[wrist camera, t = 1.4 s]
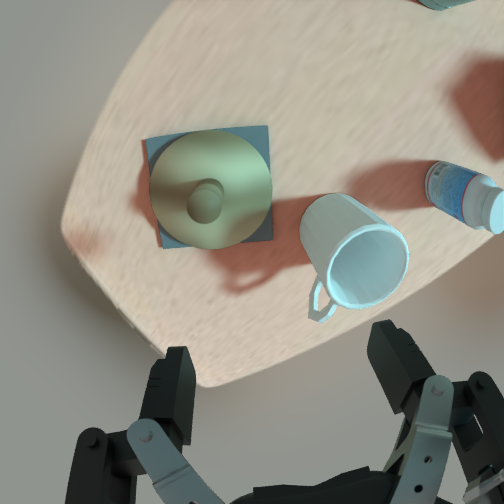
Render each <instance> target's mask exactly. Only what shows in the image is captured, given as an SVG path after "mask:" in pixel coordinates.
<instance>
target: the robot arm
mask: <svg viewBox="0 0 504 504" xmlns="http://www.w3.org/2000/svg"><path fill="white" fill-rule="evenodd" d="M418 1H419V2H421V3H422V4H424V5H425V6H427V7H429V8H431V9H434V10H440V11H441V10H445V9H448V8H451V7H454V6H457V5H461V4H464V3H468V2H471V1H475V0H418ZM367 355H368V359H369V361H370V363H371V365H372V367H373V369H374V371H375V373H376V375H377V378H378V380H379V382H380V384H381V386H382V388H383V390H384V392H385V395H386V397H387V399H388V401H389V403H390V406H391V408H392V410H393V412H394V414H398V413H401V412H403V413H404V415H405V417H404V419H403V422H402V425H401V429H400V432H399V434H398V437H397V440H396V443H395V446H394V449H393V452H392V454H391V456H390V458H389V459H388V461H387V463H386V465H385V467H384V469H383V471H370V469H369V466H366V467H363V468H359V469H356V470H352V471H349V472H345V473H341V474H340V475H338V476H335V477H333V478H331V479H329V480H327V481H325V482H322V483H320V484H318V485H315V486H297V485H274V486H265V487H254V488H253V493H249V494H247V495H244V496H241V497H240V498H238V499H236V500H234V501H233V502H231V503H230V504H452V503H450V502H447V501H446V500H443V499H441V498H439V497H437V494H438V491H439V487H440V484H441V481H442V477H443V474H444V470H445V466H446V463H447V458H448V454H449V450H450V446H451V441H452V442H453V445H454V447H455V449H456V452H457V455H458V457H459V460H460V462H461V465H462V468H463V471H464V474H465V476H466V480H467V482H468V486H467V488H466V491H465V494H464V496H463V501H464V502H465V504H504V398H503V396H502V394H501V393H500V391H499V389H498V387H497V386H496V384H495V383H494V381H493V379H492V378H491V377H490V376H489V375H488V374H487V373H485V372H481V371H478V372H475V373H473V374H472V375H471V376H470V378H469V379H468V381H459V382H451V381H450V380H449V379H448V378H446V377H445V376H442V375H436V373H435V372H434V370H433V369H432V367H431V366H430V364H429V363H428V361H427V359H426V358H425V356H424V355H423V353H422V352H421V351H420V350H419V347H418V346H417V345H416V344H415V341H414V340H413V339H412V337H411V336H410V334H409V333H407V332H406V331H404V330H403V329H402V328H399V329H397V328H396V327H395V325H394V324H393V322H392V321H391V320H390V319H388V320H384V321H379V322H375V323H373V325H372V329H371V333H370V337H369V342H368V346H367ZM195 387H196V373H195V369H194V366H193V363H192V360H191V357H190V354H189V351H188V349H187V347H186V346H177V347H168V349H167V353H166V358H165V359H158V360H157V361H156V362H155V364H154V365H153V366H152V368H151V371H150V375H149V380H148V383H147V388H146V391H145V395H144V399H143V403H142V407H141V412H140V416H139V419H138V420H137V421H135V422H134V423H132V424H131V425H130V427H129V428H128V429H127V430H124V431H120V432H114V433H108V434H106V433H104V431H102V430H101V429H99V428H94V427H93V428H88V429H86V430H84V431H83V432H82V433H81V434H80V435H79V437H78V440H77V444H76V449H75V453H74V457H73V462H72V466H71V471H70V477H69V482H68V487H67V493H66V500H65V504H135V500H136V485H137V475H143V474H148V475H149V477H150V478H151V479H152V482H153V487H154V489H155V490H156V492H157V494H158V495H159V496H160V498H161V499H162V501H163V502H164V503H165V504H225V503H224V502H223V501H222V500H221V499H220V498H219V497H218V496H217V495H216V494H215V493H214V492H213V491H212V489H211V488H210V487H209V486H208V485H207V484H206V483H205V482H204V481H203V479H202V478H201V477H200V476H199V475H198V474H197V472H196V471H195V470H194V469H193V468H192V467H191V465H190V464H189V463H188V462H187V460H186V459H185V458H184V457H183V455H182V446H183V445H190V444H191V432H192V420H193V409H194V397H195ZM474 415H475V416H476V418H477V420H478V422H479V424H480V426H481V428H482V430H483V434H482V431H481V429H480V427H479V425H478V423H477V421H476V419H475V417H474Z"/></svg>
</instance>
